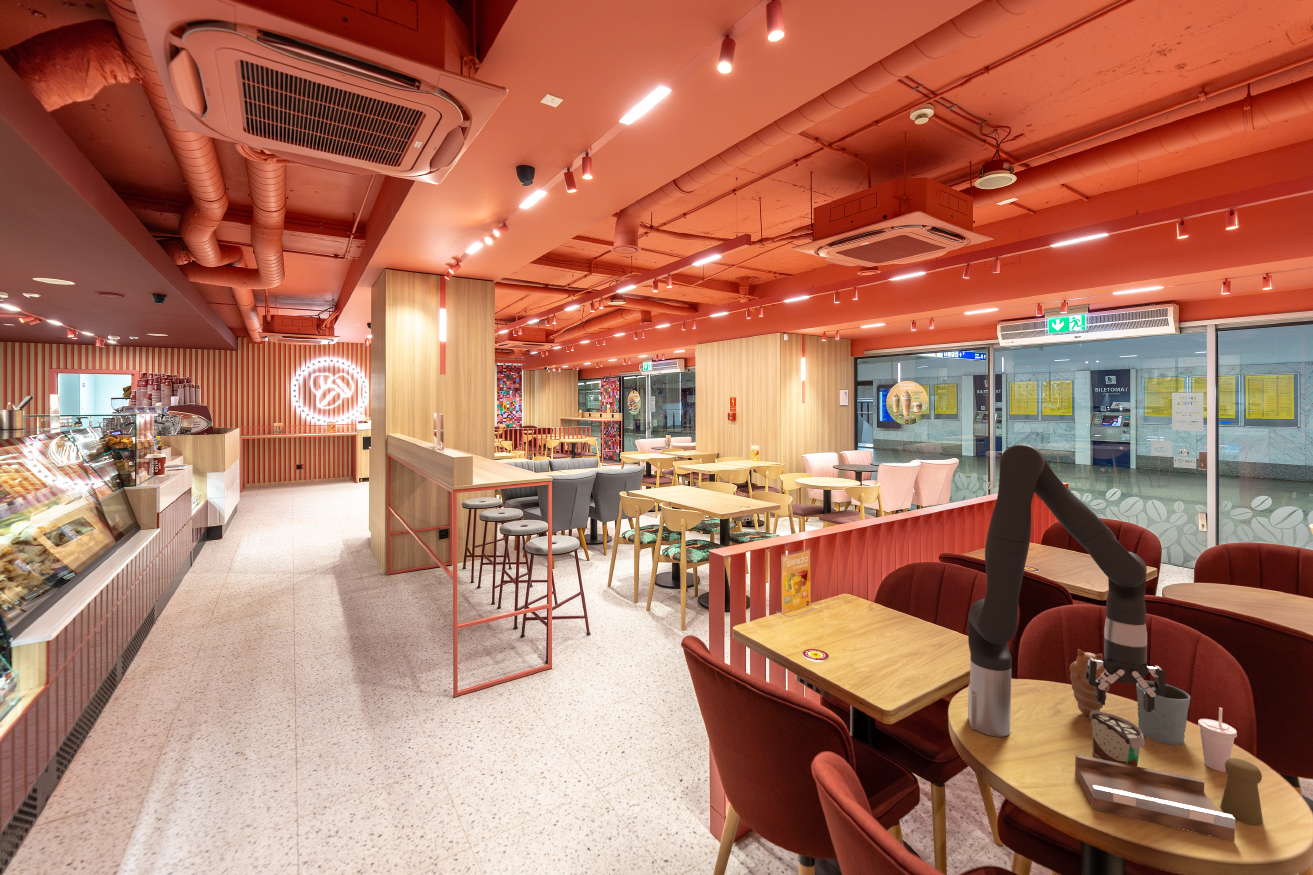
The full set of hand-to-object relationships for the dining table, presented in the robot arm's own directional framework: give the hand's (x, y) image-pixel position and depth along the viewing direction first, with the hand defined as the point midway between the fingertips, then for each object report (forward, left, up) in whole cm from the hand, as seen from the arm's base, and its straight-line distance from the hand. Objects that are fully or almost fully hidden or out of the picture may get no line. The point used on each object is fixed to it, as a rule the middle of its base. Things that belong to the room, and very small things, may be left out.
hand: (1124, 706), depth 127 cm
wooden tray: (0, -14, -14) cm, 20 cm away
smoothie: (+20, +8, -14) cm, 26 cm away
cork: (+16, -10, -14) cm, 24 cm away
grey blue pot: (+14, +19, -14) cm, 27 cm away
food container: (0, 0, -14) cm, 14 cm away
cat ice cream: (0, +23, -14) cm, 27 cm away
